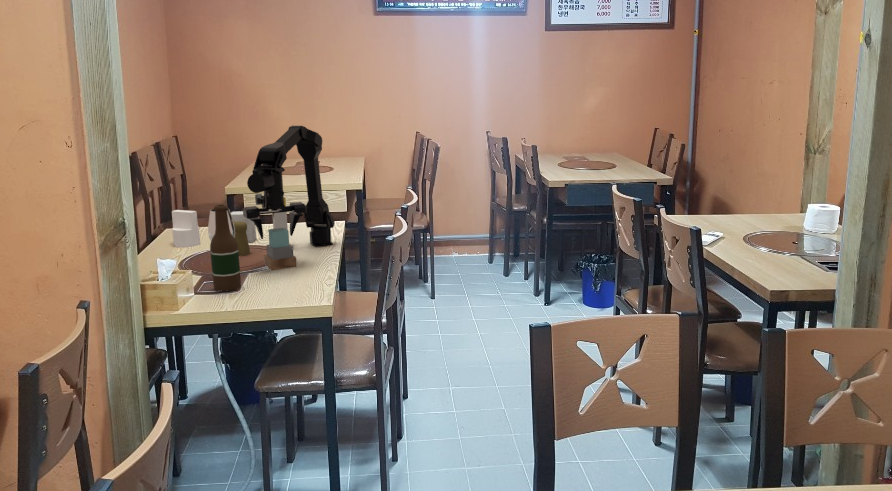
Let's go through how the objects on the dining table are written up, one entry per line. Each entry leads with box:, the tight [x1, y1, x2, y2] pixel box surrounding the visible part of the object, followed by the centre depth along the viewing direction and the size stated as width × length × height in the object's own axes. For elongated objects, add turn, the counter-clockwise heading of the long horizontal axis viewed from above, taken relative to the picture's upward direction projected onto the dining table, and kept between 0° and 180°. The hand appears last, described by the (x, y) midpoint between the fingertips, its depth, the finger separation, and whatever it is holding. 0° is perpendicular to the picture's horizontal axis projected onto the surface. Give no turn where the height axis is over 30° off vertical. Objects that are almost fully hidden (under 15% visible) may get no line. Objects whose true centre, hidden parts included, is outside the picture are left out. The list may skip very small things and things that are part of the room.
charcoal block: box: [266, 243, 295, 260], centre depth 241 cm, size 6×6×4 cm
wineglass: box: [207, 208, 235, 242], centre depth 231 cm, size 8×8×20 cm
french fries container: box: [271, 196, 289, 231], centre depth 264 cm, size 5×11×18 cm, turn 16°
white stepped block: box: [171, 209, 201, 248], centre depth 272 cm, size 9×9×12 cm
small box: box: [230, 210, 257, 243], centre depth 276 cm, size 8×6×10 cm
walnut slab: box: [263, 254, 297, 271], centre depth 242 cm, size 8×8×4 cm
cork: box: [234, 221, 251, 257], centre depth 257 cm, size 6×6×11 cm
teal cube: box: [268, 228, 290, 248], centre depth 240 cm, size 5×5×5 cm
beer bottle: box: [209, 204, 242, 292], centre depth 217 cm, size 8×8×24 cm
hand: (276, 237), depth 240 cm, fingers open, 9 cm apart
